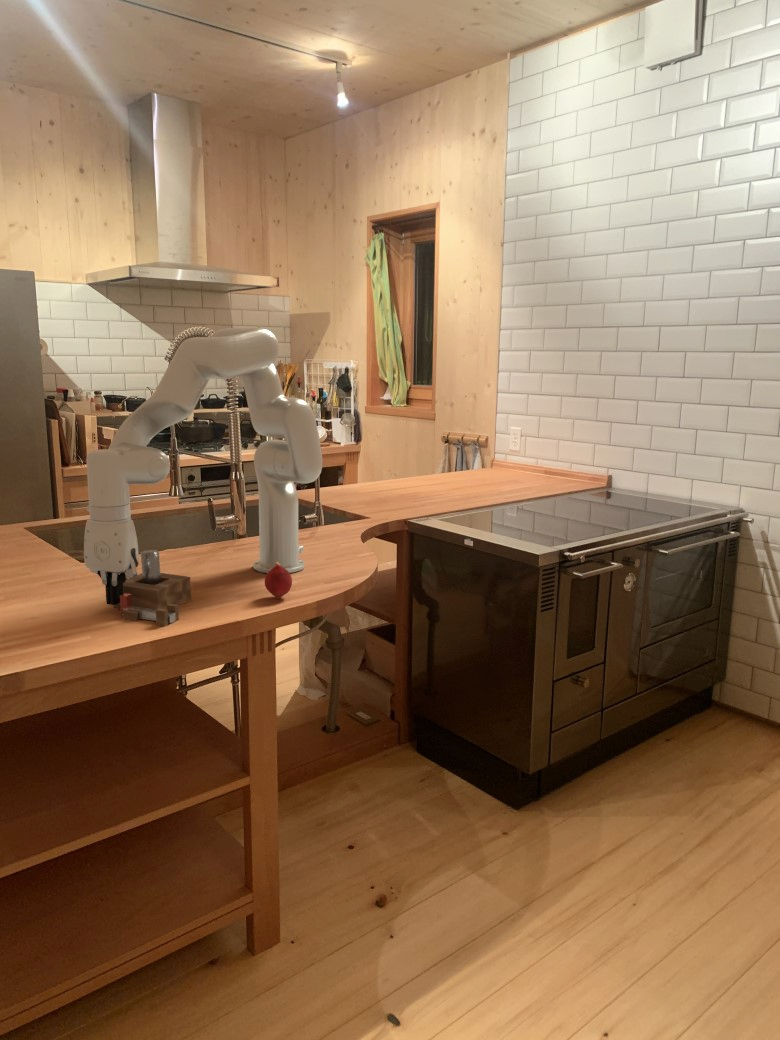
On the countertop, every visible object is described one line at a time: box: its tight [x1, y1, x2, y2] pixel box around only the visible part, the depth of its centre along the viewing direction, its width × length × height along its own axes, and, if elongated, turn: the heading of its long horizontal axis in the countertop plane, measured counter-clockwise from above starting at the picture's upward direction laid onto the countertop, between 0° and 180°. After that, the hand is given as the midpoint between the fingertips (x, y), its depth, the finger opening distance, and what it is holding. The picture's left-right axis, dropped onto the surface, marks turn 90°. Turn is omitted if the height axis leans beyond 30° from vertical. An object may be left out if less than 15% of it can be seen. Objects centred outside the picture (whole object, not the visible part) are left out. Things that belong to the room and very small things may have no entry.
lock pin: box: [119, 593, 176, 624], centre depth 151 cm, size 2×12×4 cm, turn 69°
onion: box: [264, 562, 293, 599], centre depth 166 cm, size 6×6×8 cm
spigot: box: [140, 549, 162, 585], centre depth 160 cm, size 4×4×10 cm
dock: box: [113, 572, 192, 627], centre depth 158 cm, size 16×16×5 cm
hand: (115, 602), depth 154 cm, fingers closed
